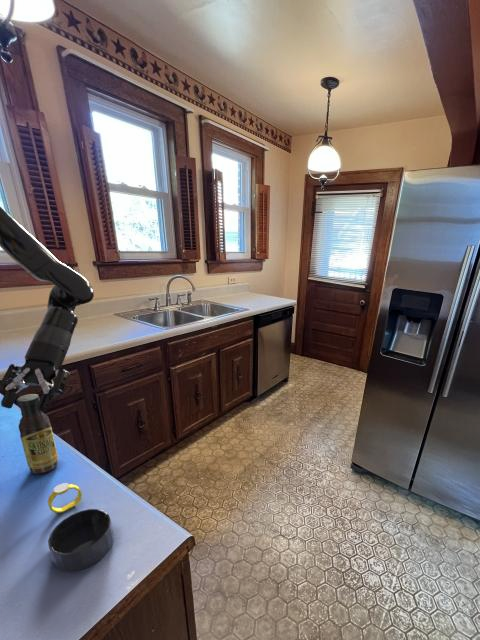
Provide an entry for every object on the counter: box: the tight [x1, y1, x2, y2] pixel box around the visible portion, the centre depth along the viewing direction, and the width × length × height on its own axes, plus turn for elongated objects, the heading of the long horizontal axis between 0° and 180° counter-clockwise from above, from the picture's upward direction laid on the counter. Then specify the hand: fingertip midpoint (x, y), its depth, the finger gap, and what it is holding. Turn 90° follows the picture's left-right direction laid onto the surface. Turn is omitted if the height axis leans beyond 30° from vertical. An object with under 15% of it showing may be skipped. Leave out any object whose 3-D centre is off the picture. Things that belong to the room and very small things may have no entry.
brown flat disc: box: [34, 463, 59, 476], centre depth 80 cm, size 5×5×1 cm
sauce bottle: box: [16, 393, 59, 475], centre depth 76 cm, size 7×6×20 cm
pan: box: [47, 508, 115, 573], centre depth 60 cm, size 10×10×4 cm
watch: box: [47, 482, 83, 514], centre depth 68 cm, size 6×3×6 cm, turn 138°
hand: (23, 409), depth 72 cm, fingers open, 8 cm apart
